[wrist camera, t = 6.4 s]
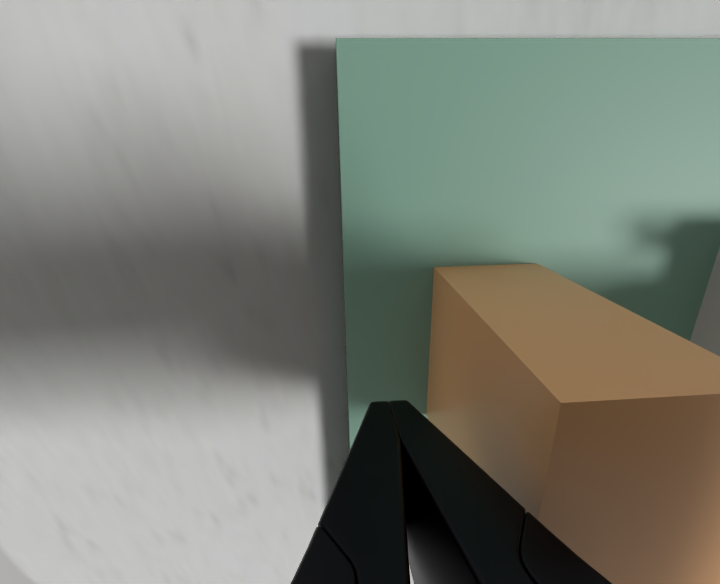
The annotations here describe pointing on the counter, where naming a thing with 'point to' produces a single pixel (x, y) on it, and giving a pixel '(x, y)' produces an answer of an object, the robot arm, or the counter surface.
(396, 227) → the heatsink board
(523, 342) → the orange stepped block
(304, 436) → the counter surface
